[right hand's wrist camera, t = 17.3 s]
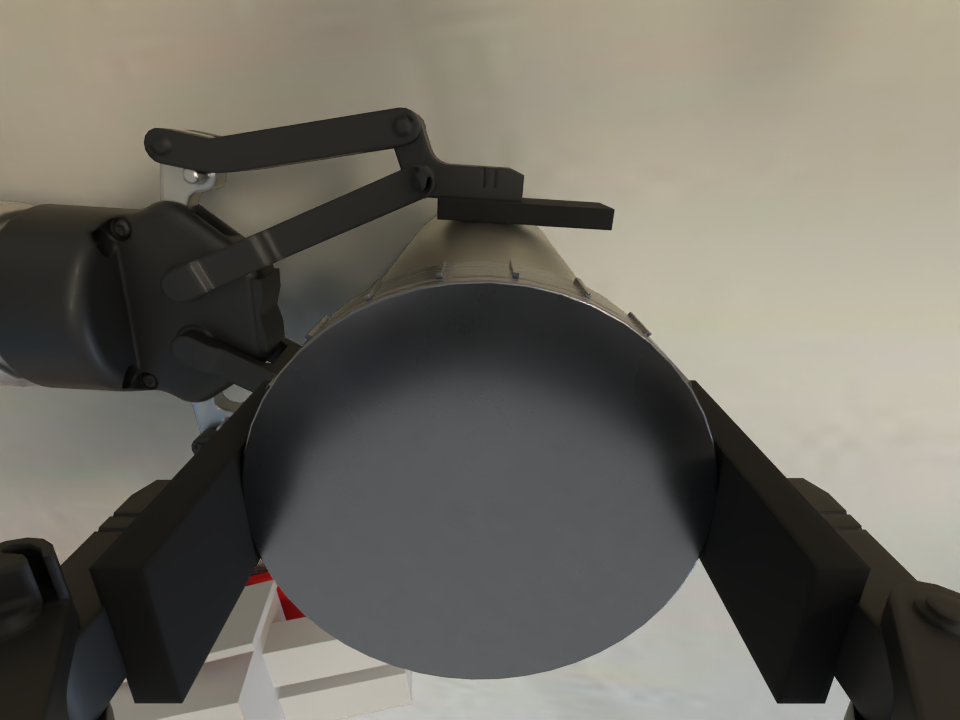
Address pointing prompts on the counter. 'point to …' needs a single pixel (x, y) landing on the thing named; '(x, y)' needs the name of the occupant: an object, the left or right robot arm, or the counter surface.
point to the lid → (479, 473)
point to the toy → (277, 670)
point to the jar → (478, 247)
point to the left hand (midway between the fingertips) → (588, 327)
